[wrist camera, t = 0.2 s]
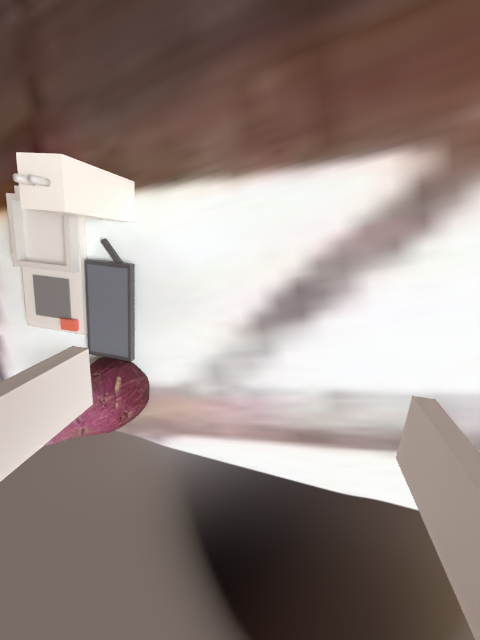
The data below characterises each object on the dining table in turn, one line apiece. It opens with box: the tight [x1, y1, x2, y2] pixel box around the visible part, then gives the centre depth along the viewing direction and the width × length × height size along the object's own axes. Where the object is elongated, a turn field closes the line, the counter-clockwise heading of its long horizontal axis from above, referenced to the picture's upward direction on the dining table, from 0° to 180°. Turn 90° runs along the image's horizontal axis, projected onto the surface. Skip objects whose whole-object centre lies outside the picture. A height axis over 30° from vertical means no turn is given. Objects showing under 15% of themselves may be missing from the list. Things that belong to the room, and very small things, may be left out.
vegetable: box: [45, 357, 149, 445], centre depth 41 cm, size 10×10×15 cm
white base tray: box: [6, 186, 88, 335], centre depth 43 cm, size 20×10×3 cm, turn 175°
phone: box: [85, 259, 134, 362], centre depth 43 cm, size 7×14×1 cm, turn 175°
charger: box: [13, 152, 134, 222], centre depth 33 cm, size 5×5×14 cm
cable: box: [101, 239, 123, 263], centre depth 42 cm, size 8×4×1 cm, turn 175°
